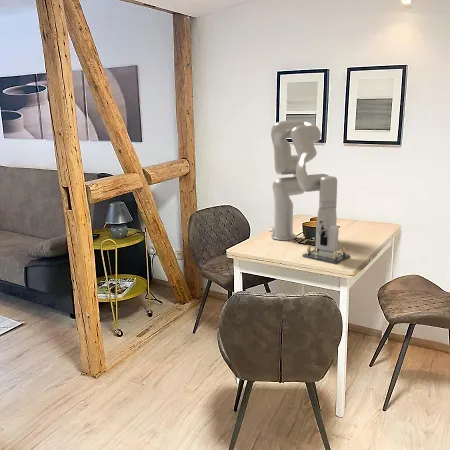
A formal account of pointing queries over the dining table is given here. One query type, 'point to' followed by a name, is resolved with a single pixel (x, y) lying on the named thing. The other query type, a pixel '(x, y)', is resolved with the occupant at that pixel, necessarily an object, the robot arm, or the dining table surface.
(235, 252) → the dining table surface
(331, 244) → the photo printer
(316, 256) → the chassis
